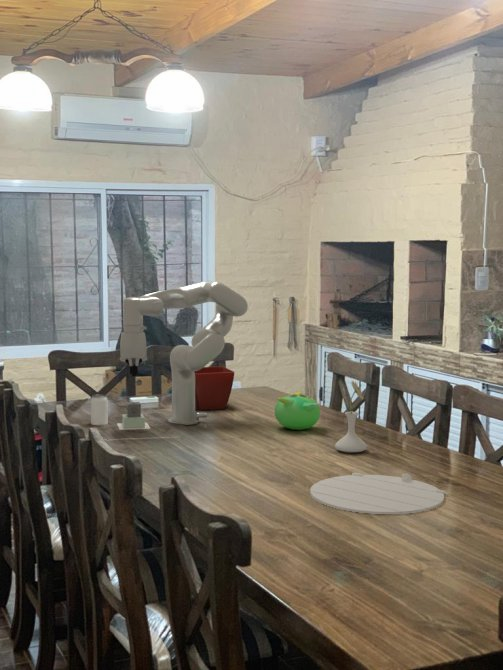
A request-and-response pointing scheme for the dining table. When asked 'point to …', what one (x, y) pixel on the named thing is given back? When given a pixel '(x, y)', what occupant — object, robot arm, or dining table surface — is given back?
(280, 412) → the toy bird
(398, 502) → the lazy susan
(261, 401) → the dining table surface
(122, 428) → the baseplate
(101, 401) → the can
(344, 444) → the flower in vase
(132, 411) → the dice cube
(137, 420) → the sage brick
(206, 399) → the plant pot
